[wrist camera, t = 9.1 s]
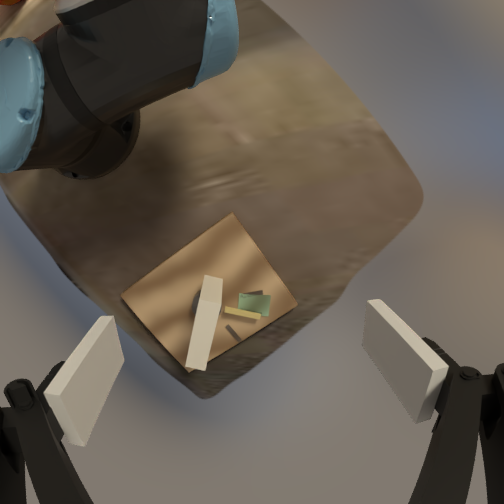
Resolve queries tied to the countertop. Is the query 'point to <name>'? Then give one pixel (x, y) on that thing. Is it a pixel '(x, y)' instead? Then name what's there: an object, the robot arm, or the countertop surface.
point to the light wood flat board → (190, 282)
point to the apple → (8, 2)
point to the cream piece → (208, 320)
